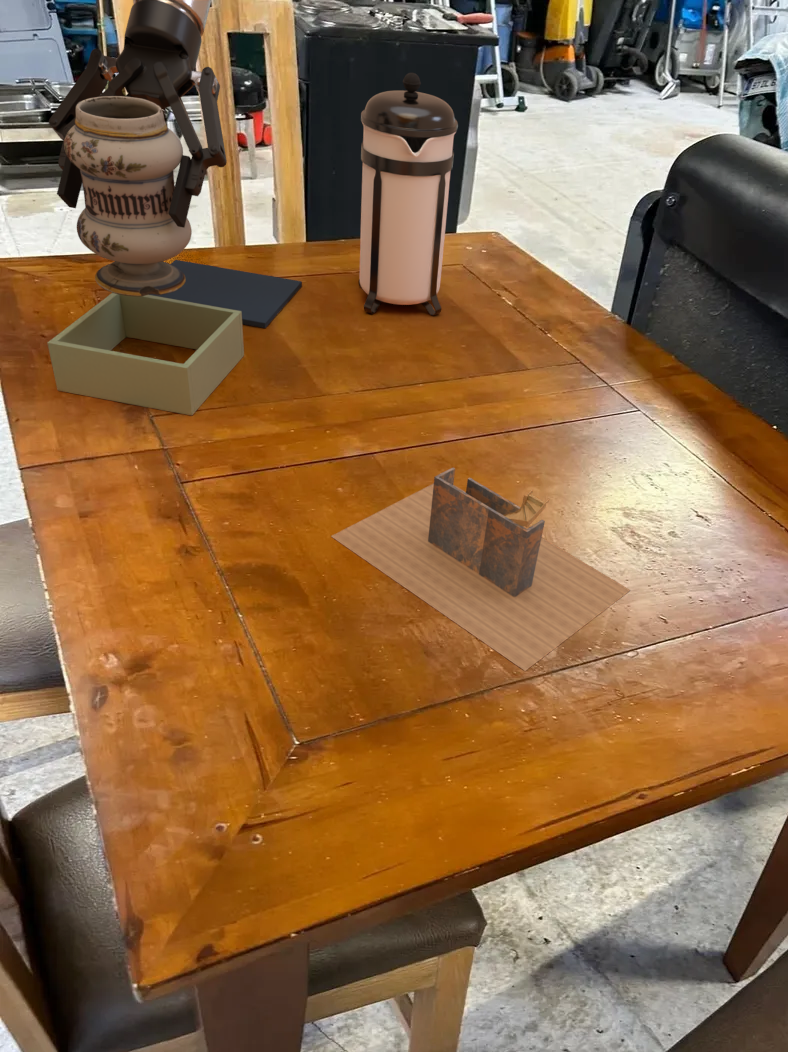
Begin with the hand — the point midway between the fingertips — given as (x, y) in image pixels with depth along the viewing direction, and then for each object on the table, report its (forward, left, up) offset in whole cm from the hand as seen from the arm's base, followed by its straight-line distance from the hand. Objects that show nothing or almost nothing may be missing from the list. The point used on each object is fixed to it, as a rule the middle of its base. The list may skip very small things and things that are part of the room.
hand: (121, 211), depth 94 cm
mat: (-2, +28, -20) cm, 34 cm away
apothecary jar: (0, +3, -9) cm, 9 cm away
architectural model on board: (+45, -22, -20) cm, 54 cm away
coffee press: (+22, +38, -20) cm, 48 cm away
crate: (0, +3, -20) cm, 20 cm away
